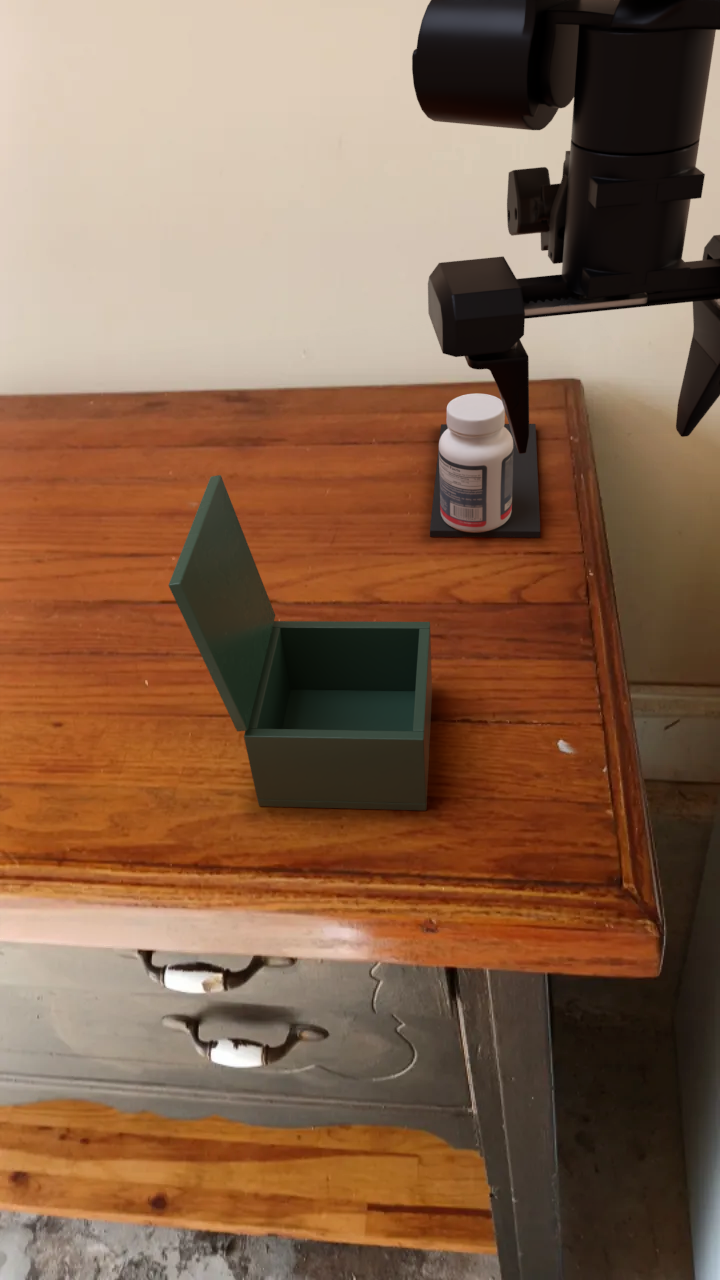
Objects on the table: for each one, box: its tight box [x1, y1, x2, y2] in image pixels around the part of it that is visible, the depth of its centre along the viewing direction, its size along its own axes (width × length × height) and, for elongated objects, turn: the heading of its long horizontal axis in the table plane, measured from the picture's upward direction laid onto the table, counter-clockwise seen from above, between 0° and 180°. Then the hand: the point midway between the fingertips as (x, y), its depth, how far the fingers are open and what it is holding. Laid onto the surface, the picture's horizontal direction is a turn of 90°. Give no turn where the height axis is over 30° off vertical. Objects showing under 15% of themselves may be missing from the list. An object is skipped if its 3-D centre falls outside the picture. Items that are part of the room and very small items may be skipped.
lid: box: [168, 474, 276, 732], centre depth 49 cm, size 10×9×1 cm
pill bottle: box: [438, 393, 513, 532], centre depth 68 cm, size 5×5×9 cm
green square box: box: [243, 620, 433, 812], centre depth 54 cm, size 9×9×6 cm
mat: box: [429, 423, 541, 539], centre depth 76 cm, size 16×8×1 cm, turn 173°
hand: (601, 441), depth 54 cm, fingers open, 9 cm apart
